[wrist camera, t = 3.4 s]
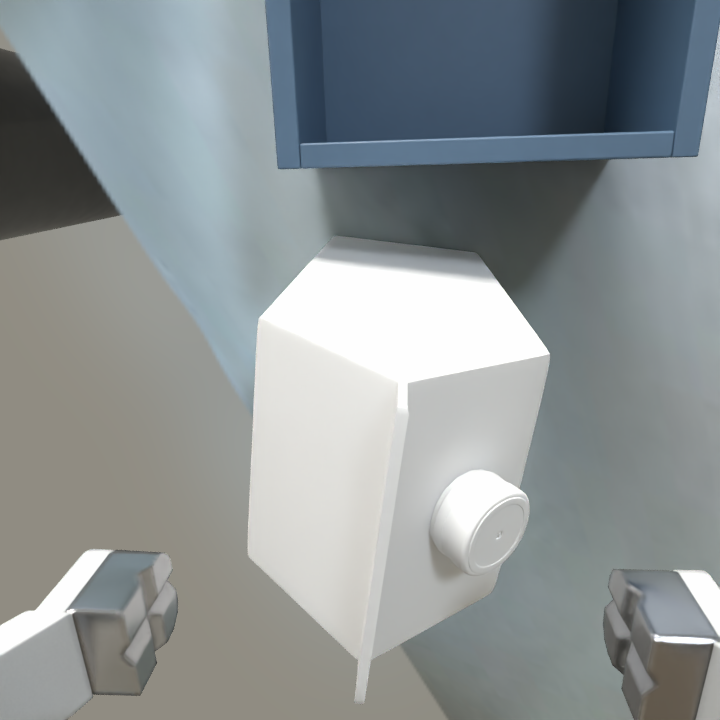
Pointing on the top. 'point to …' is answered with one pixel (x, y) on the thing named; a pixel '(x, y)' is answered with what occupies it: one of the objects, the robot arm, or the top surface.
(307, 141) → the tub
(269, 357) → the milk carton
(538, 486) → the top surface
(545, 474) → the top surface
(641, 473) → the top surface
